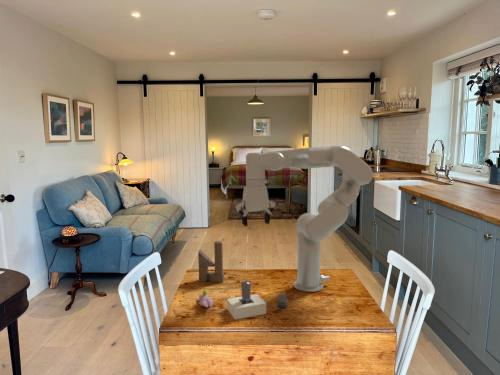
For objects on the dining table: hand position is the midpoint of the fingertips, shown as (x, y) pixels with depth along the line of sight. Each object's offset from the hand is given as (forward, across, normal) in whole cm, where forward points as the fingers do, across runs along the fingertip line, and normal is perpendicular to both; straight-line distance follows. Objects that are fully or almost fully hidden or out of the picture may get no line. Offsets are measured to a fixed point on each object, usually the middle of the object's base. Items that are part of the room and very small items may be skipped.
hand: (256, 224), depth 155 cm
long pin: (+28, +11, +17) cm, 35 cm away
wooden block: (+28, +15, -18) cm, 36 cm away
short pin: (+28, -3, +19) cm, 34 cm away
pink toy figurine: (+28, +24, +6) cm, 38 cm away
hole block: (+28, +11, +17) cm, 35 cm away
